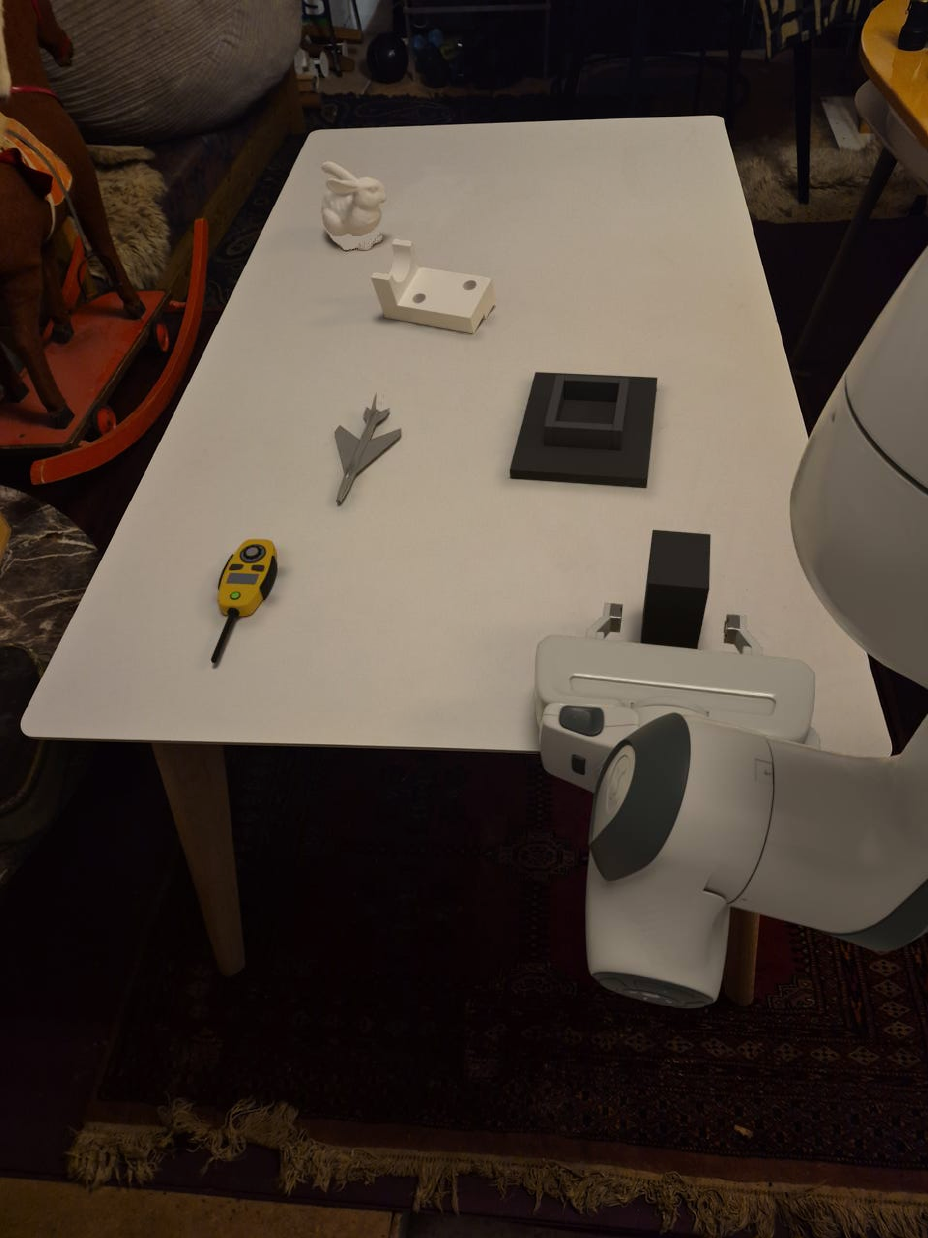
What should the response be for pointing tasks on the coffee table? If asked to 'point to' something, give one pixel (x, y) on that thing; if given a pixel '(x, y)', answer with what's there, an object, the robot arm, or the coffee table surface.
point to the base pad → (586, 429)
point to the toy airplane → (361, 446)
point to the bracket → (432, 293)
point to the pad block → (676, 589)
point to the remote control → (245, 583)
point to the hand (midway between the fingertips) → (673, 613)
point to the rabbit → (351, 203)
